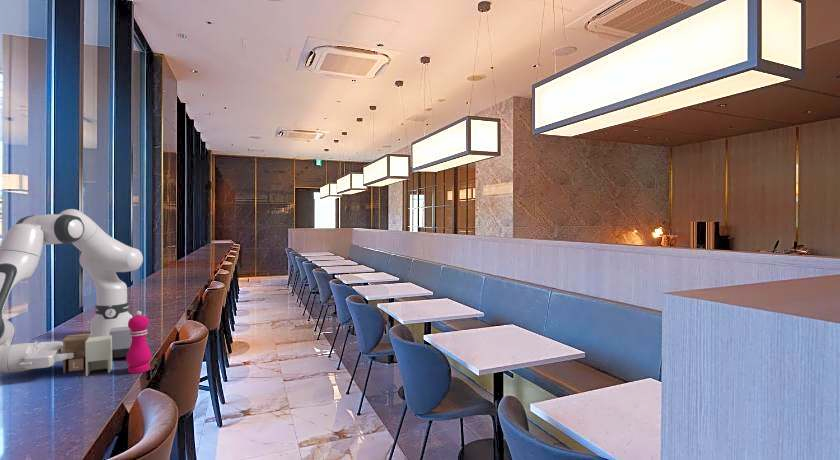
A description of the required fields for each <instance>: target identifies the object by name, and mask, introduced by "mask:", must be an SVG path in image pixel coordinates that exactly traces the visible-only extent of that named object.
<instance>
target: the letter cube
mask: <svg viewBox="0 0 840 460" xmlns="http://www.w3.org/2000/svg"><path fill="white" fill-rule="evenodd" d="M84 370H85V357H80V358H72V359H69V368H68V372H76V371H84Z"/></svg>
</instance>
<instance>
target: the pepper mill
mask: <svg viewBox="0 0 840 460" xmlns="http://www.w3.org/2000/svg"><path fill="white" fill-rule="evenodd" d="M142 313H143V312H142V311H141V310H137V311H135V316H132V318H131V319H130V320H129V322H128V327H129V329H131V331H130V336H131V338H132V341H131V346H130V349H129V351H128V353H127V356H126V357H125V361H126V364H128V367H127V373H128V374H133V375H135V374H141V373H145V372H148V371H150V370H151V363H149V362H150V361H151V360H152V358H153V357H152V352H151V350H150V348H149V345H148V342H147V334H148V329H147V328H148V327H149V325H150V320H149V318H148V317H147V316H146V315H143V314H142Z"/></svg>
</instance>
